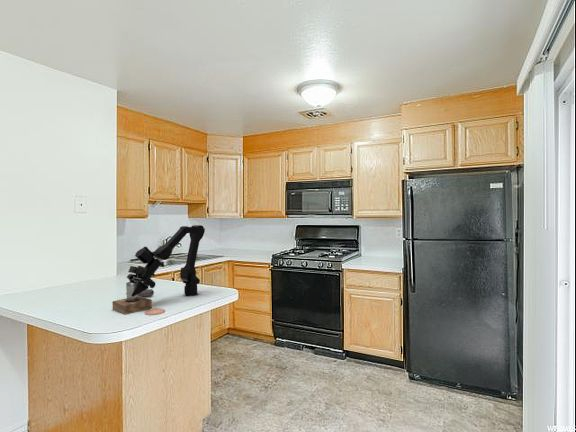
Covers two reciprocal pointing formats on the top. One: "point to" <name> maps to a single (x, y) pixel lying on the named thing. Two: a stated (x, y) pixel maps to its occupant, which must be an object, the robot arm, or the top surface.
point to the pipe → (146, 293)
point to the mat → (155, 311)
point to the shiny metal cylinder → (131, 291)
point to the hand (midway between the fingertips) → (129, 295)
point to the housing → (132, 305)
